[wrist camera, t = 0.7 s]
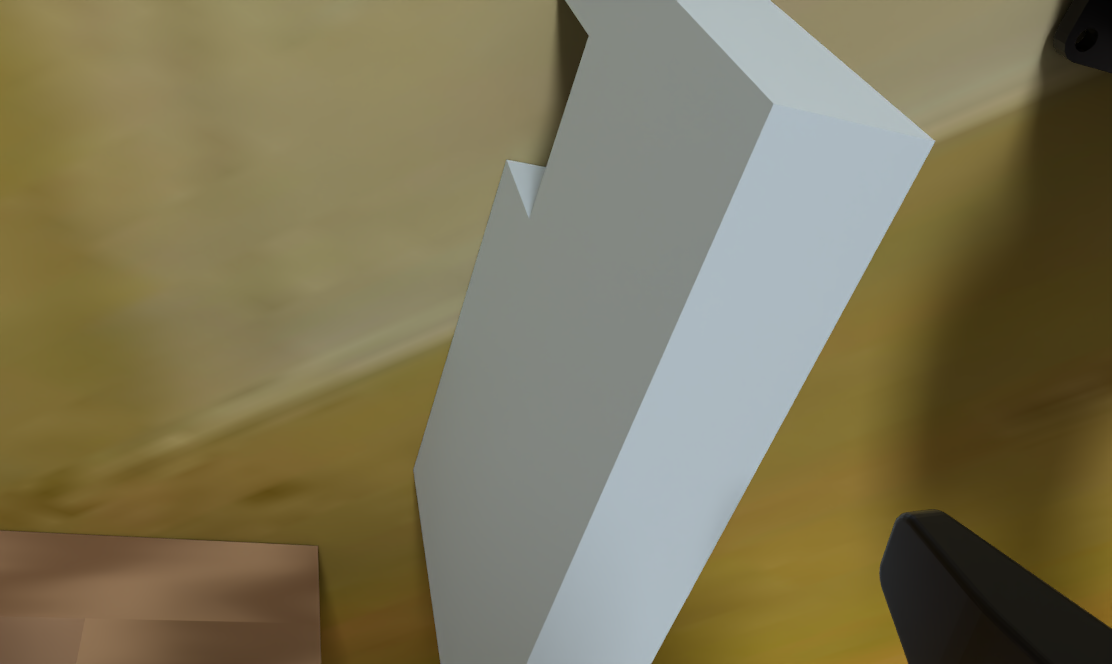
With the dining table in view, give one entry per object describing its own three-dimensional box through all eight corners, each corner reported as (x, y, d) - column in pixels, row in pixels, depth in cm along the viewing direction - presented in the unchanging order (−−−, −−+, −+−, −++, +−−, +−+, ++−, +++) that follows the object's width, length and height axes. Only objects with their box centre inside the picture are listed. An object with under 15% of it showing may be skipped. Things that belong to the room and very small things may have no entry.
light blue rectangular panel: (583, -98, 18) (773, 103, 11) (692, -67, 19) (934, 141, 12) (413, 470, 25) (461, 811, 18) (496, 476, 26) (572, 806, 19)
